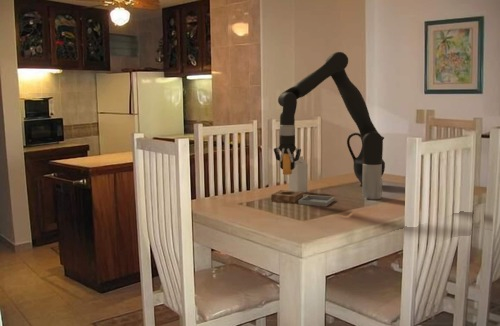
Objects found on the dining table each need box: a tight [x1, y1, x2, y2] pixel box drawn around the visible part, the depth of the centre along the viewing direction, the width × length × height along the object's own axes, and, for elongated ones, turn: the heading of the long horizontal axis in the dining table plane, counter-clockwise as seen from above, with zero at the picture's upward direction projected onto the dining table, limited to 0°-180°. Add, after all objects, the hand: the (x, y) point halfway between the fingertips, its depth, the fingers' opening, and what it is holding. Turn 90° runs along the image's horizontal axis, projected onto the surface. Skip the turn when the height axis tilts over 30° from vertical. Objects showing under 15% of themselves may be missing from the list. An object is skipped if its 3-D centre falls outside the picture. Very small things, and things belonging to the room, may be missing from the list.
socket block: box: [270, 189, 304, 204], centre depth 247 cm, size 12×12×4 cm
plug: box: [282, 154, 292, 176], centre depth 245 cm, size 4×4×10 cm
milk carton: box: [288, 155, 308, 193], centre depth 268 cm, size 7×7×19 cm
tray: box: [297, 194, 336, 207], centre depth 241 cm, size 14×14×2 cm
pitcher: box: [346, 132, 386, 188], centre depth 281 cm, size 17×21×30 cm
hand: (287, 169), depth 245 cm, fingers closed on plug, 4 cm apart
